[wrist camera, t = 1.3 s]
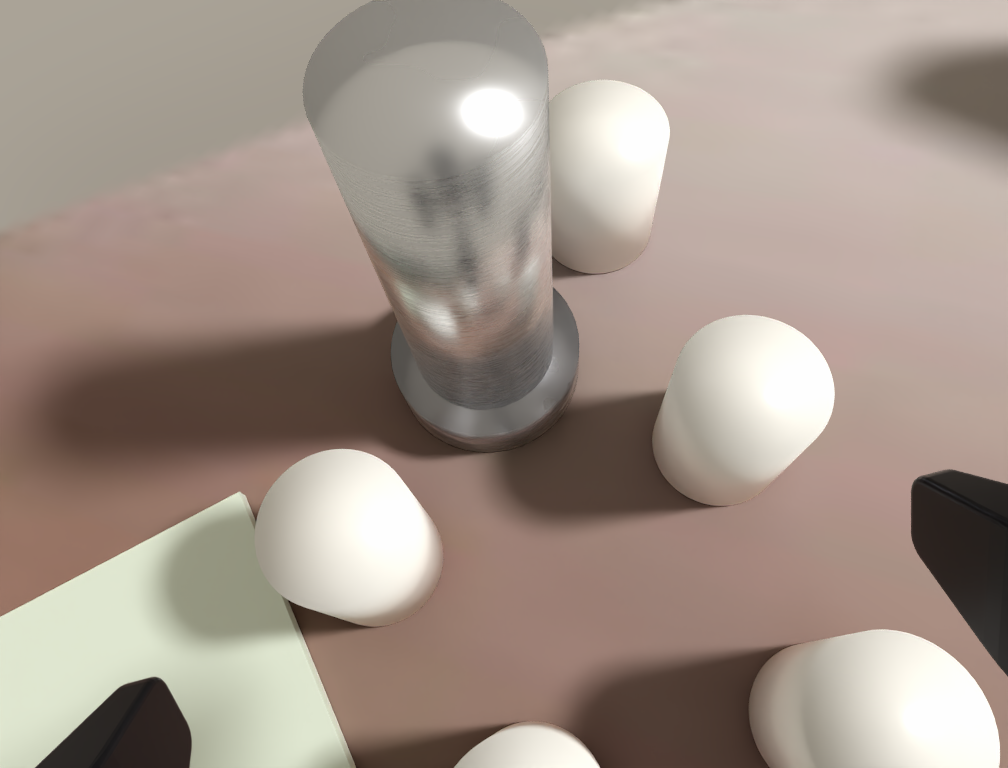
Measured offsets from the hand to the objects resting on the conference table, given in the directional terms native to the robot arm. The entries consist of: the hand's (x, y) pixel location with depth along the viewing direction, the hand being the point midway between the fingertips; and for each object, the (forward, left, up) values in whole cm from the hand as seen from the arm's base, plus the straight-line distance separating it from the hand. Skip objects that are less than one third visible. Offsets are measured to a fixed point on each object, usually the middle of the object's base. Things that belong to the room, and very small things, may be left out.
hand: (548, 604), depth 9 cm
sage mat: (+4, +11, -14) cm, 18 cm away
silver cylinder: (+9, -3, -14) cm, 17 cm away
